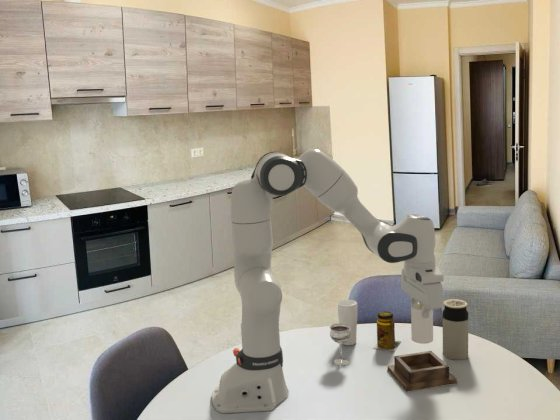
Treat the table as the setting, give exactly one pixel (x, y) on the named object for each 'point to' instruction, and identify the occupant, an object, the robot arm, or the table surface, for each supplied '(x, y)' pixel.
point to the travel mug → (455, 329)
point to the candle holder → (421, 371)
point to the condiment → (386, 332)
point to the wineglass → (340, 339)
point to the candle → (421, 325)
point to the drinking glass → (348, 318)
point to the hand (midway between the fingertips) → (420, 313)
